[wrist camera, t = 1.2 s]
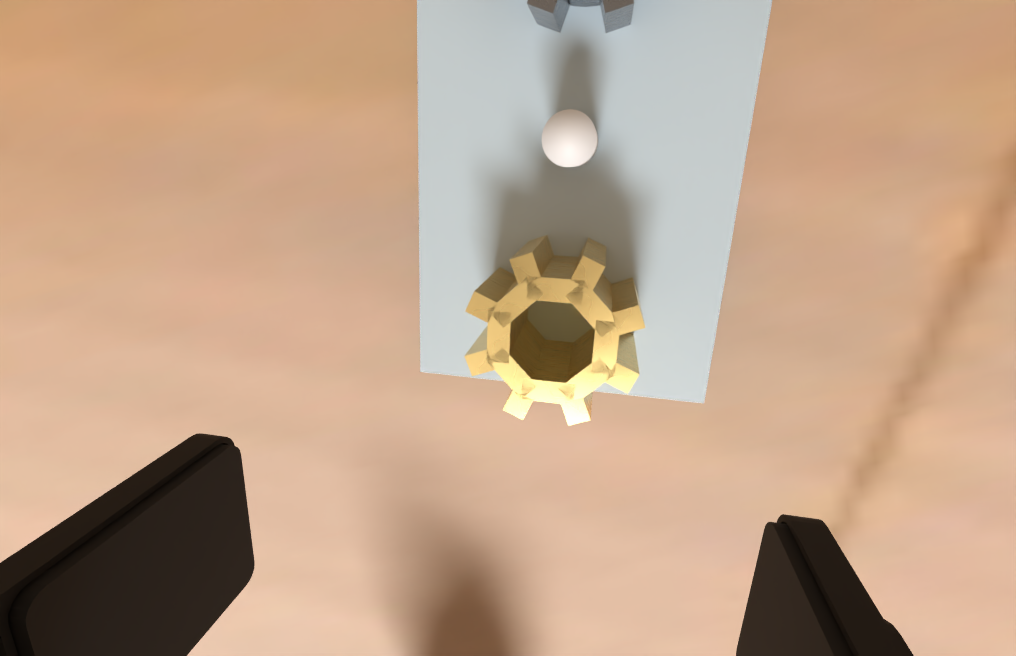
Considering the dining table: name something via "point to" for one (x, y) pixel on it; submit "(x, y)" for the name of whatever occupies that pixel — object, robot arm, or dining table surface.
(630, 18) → the steel gear
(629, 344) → the brass gear
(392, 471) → the dining table surface
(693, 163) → the board
